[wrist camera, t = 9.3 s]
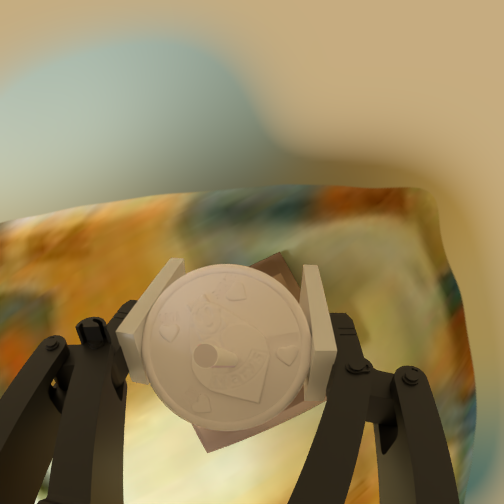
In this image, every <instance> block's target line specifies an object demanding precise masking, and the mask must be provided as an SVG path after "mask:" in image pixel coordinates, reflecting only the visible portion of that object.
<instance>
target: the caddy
mask: <svg viewBox="0 0 504 504" xmlns="http://www.w3.org/2000/svg"><path fill="white" fill-rule="evenodd" d="M249 267H251V268H254V269H256V270H259V271H261V272H263V273H266V274H268V275H269V276H271V277H273V278H274V279H276V280H277V281H278V282H280V283H281V284H282V285H283V286H284V287H285V288H287V290H288V291H289V292H290V293H291V294H292V295H293V296H294V298H295V299H296V300H297V302H298V303H299V301H300V292H301V289H300V287H299V286H298V284H297V282H296V280H295V278H294V277H293V275H292V273H291V271H290V269H289V268H288V266H287V264H286V262H285V260H284V259H283V257H282V255H281V253H280V252H278V253H276V254H274V255H272V256H270V257H268V258H266V259H264V260H262V261H260V262H257V263H255V264H253V265H251V266H249ZM326 400H327V397H326V395H325V398H324V401H326ZM324 401H304V384H303V386H302V388H301V390H300V391H299V393H298V394H297V396H296V397H295V398H294V400H293V401H292V402H291V403H290V404H289V405H288V406H287V407H286V408H285V409H284V410H283V411H282V412H281V413H279V414H278V415H277V416H275V417H274V418H272V419H271V420H269V421H267V422H265V423H263V424H260V425H258V426H255V427H252V428H248V429H244V430H238V431H217V430H210V429H206V428H202V427H199V426H196V425H194V424H192V425H193V427H194V429H195V431H196V433H197V435H198V437H199V439H200V441H201V443H202V444H203V446H204V448H205V450H206V452H207V453H209V452H212V451H215V450H218V449H220V448H223V447H226V446H229V445H231V444H234V443H236V442H239V441H242V440H244V439H247V438H249V437H251V436H254V435H256V434H259V433H261V432H263V431H265V430H268V429H270V428H272V427H274V426H277V425H279V424H281V423H283V422H285V421H287V420H289V419H291V418H293V417H295V416H298V415H300V414H302V413H303V412H305V411H307V410H309V409H311V408H313V407H315V406H317V405H319V404H321V403H322V402H324Z"/></svg>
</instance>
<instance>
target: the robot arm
mask: <svg viewBox="0 0 504 504" xmlns="http://www.w3.org/2000/svg"><path fill="white" fill-rule="evenodd" d="M183 275H185V265H184V259H183V258H170V259H169V261H168V262H167V263H166V265H165V266H164V267H163V268H162V270H161V271H160V272H159V274H158V275H157V276H156V277H155V279H154V280H153V281H152V283H151V284H150V285H149V287H148V288H147V289H146V291H145V292H144V293H143V295H142V296H141V297H140V299H139V300H138V301H137V300H130V301H128V302H126V303H125V304H123V305H122V306H121V308H120V309H119V310H118V311H117V313H116V314H115V315H114V316H113V318H112V319H111V320H110V322H109V323H108V324H107V325H106V322H105V321H104V319H102V318H99V317H90V318H86V319H84V320H82V321H81V322H79V323H78V324H77V326H76V330H77V333H78V336H79V338H80V341H81V345H67V343H66V340H65V339H64V338H63V337H62V336H57V335H54V336H50V337H48V338H46V339H44V340H43V341H42V342H41V343H40V345H39V346H38V347H37V349H36V350H35V351H34V352H33V354H32V355H31V356H30V358H29V359H28V360H27V362H26V363H25V365H24V366H23V367H22V369H21V370H20V371H19V373H18V374H17V376H16V377H15V378H14V380H13V381H12V383H11V384H10V386H9V387H8V389H7V390H6V392H5V393H4V395H3V396H2V398H1V399H0V504H34V503H35V500H36V497H37V495H38V492H39V490H40V487H41V485H42V482H43V480H44V477H45V475H46V472H47V470H48V467H49V465H50V463H51V460H52V458H53V460H52V466H51V473H50V481H49V489H48V495H47V497H46V499H43V500H40V501H39V502H38V503H37V504H124V503H123V445H124V424H125V409H126V396H127V383H126V380H125V378H126V376H127V375H128V373H129V374H130V377H131V380H132V381H133V382H137V383H142V384H147V385H148V384H149V380H148V377H147V375H146V372H145V368H144V364H143V358H142V338H143V331H144V326H145V323H146V320H147V317H148V315H149V312H150V310H151V308H152V307H153V305H154V303H155V302H156V300H157V299H158V297H159V296H160V295H161V294H162V293H163V291H164V290H165V289H166V288H167V287H168V286H169V285H171V284H172V283H173V282H174V281H176V280H177V279H179V278H180V277H182V276H183ZM299 305H300V307H301V308H302V310H303V312H304V314H305V317H306V319H307V322H308V325H309V329H310V334H311V362H310V367H309V371H308V374H307V377H306V379H305V382H304V401H324V398H325V395H326V397H327V402H326V405H325V408H324V411H323V414H322V417H321V420H320V423H319V426H318V429H317V432H316V435H315V437H314V440H313V443H312V446H311V448H310V451H309V454H308V456H307V459H306V461H305V464H304V466H303V469H302V471H301V474H300V476H299V478H298V481H297V483H296V486H295V488H294V490H293V492H292V495H291V497H290V499H289V501H288V504H344V503H345V499H346V496H347V493H348V490H349V486H350V483H351V479H352V476H353V472H354V468H355V464H356V460H357V456H358V452H359V448H360V444H361V439H362V435H363V430H364V425H365V421H367V422H372V423H373V425H374V433H375V442H376V453H377V464H378V478H379V495H380V504H459V498H458V492H457V487H456V482H455V477H454V472H453V467H452V463H451V458H450V454H449V450H448V446H447V442H446V438H445V435H444V431H443V427H442V424H441V420H440V417H439V414H438V410H437V407H436V404H435V401H434V398H433V394H432V391H431V388H430V385H429V382H428V380H427V377H426V375H425V374H424V372H422V371H421V370H420V369H418V368H416V367H414V366H402V367H400V368H398V369H397V370H396V372H395V374H392V373H387V372H382V371H378V370H376V369H374V368H373V366H372V364H371V363H370V361H368V360H367V359H365V358H364V356H363V353H362V349H361V346H360V343H359V340H358V336H357V333H356V330H355V327H354V324H353V320H352V319H351V318H350V317H349V316H348V315H347V314H346V313H329V310H328V306H327V302H326V297H325V293H324V289H323V285H322V281H321V276H320V272H319V268H318V265H305V264H303V272H302V282H301V292H300V301H299ZM53 379H54V380H55V382H56V383H55V385H54V386H53V387H52V385H51V382H52V381H53Z"/></svg>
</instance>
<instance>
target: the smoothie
mask: <svg viewBox="0 0 504 504" xmlns="http://www.w3.org/2000/svg"><path fill="white" fill-rule="evenodd" d="M142 358H143V364H144V368H145V372H146V375H147V377H148V380H149V382H150V384H151V386H152V388H153V390H154V391H155V393H156V394H157V396H158V397H159V398H160V400H161V401H162V402H163V403H164V404H165V405H166V406H167V407H168V408H169V409H170V410H171V411H172V412H174V413H175V414H176V415H178V416H179V417H181V418H182V419H184V420H186V421H187V422H190V423H192V424H194V425H196V426H199V427H202V428H206V429H210V430H217V431H238V430H244V429H248V428H252V427H255V426H258V425H260V424H263V423H265V422H267V421H269V420H271V419H272V418H274V417H275V416H277V415H278V414H279V413H281V412H282V411H283V410H284V409H285V408H286V407H287V406H288V405H289V404H290V403H291V402H292V401H293V400H294V398H295V397H296V396H297V394H298V393H299V391H300V390H301V388H302V386H303V384H304V382H305V379H306V377H307V374H308V371H309V367H310V362H311V334H310V329H309V325H308V322H307V319H306V317H305V314H304V312H303V310H302V308H301V307H300V305H299V303H298V302H297V300H296V299H295V298H294V296H293V295H292V294H291V293H290V292H289V291H288V290H287V288H285V287H284V286H283V285H282V284H281V283H280V282H278V281H277V280H276V279H274V278H273V277H271V276H269V275H268V274H266V273H263V272H261V271H259V270H256V269H254V268H251V267H247V266H242V265H236V264H218V265H210V266H206V267H202V268H199V269H196V270H194V271H191V272H189V273H187V274H185V275H183V276H182V277H180V278H179V279H177V280H176V281H174V282H173V283H172V284H171V285H169V286H168V287H167V288H166V289H165V290H164V291H163V293H162V294H161V295H160V296H159V297H158V299H157V300H156V302H155V303H154V305H153V307H152V308H151V310H150V312H149V315H148V317H147V320H146V323H145V326H144V331H143V338H142Z"/></svg>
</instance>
